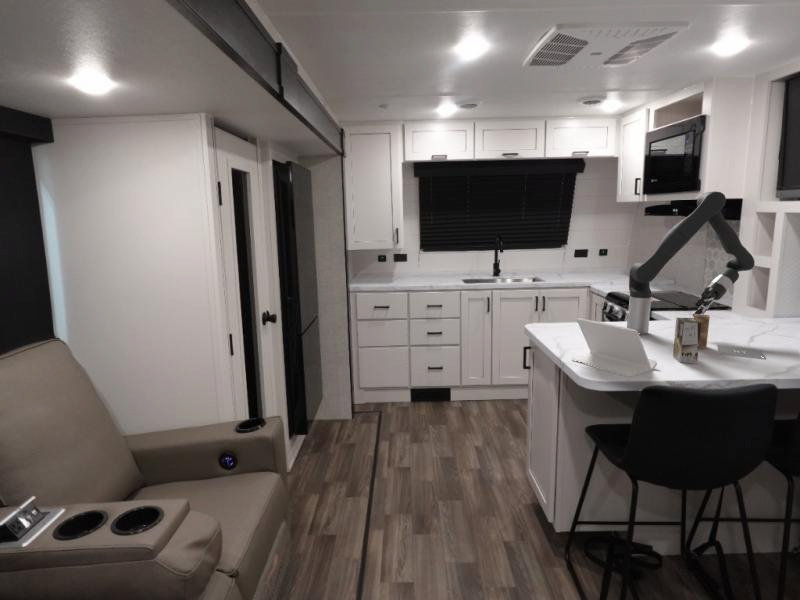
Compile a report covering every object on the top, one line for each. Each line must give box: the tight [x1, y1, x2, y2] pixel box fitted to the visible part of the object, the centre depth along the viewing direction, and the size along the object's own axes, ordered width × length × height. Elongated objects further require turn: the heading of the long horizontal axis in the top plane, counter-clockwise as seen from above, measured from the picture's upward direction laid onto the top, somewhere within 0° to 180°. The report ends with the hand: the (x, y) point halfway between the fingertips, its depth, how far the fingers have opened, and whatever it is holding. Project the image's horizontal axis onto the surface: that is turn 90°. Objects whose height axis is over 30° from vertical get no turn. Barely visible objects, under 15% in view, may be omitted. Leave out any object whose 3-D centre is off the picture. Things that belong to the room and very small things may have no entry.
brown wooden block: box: [693, 313, 710, 351], centre depth 216 cm, size 6×6×14 cm
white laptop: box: [571, 317, 658, 378], centre depth 194 cm, size 18×25×17 cm
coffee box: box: [672, 317, 701, 364], centre depth 199 cm, size 9×6×16 cm
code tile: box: [716, 344, 767, 361], centre depth 210 cm, size 16×16×1 cm
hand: (695, 311), depth 228 cm, fingers open, 8 cm apart
